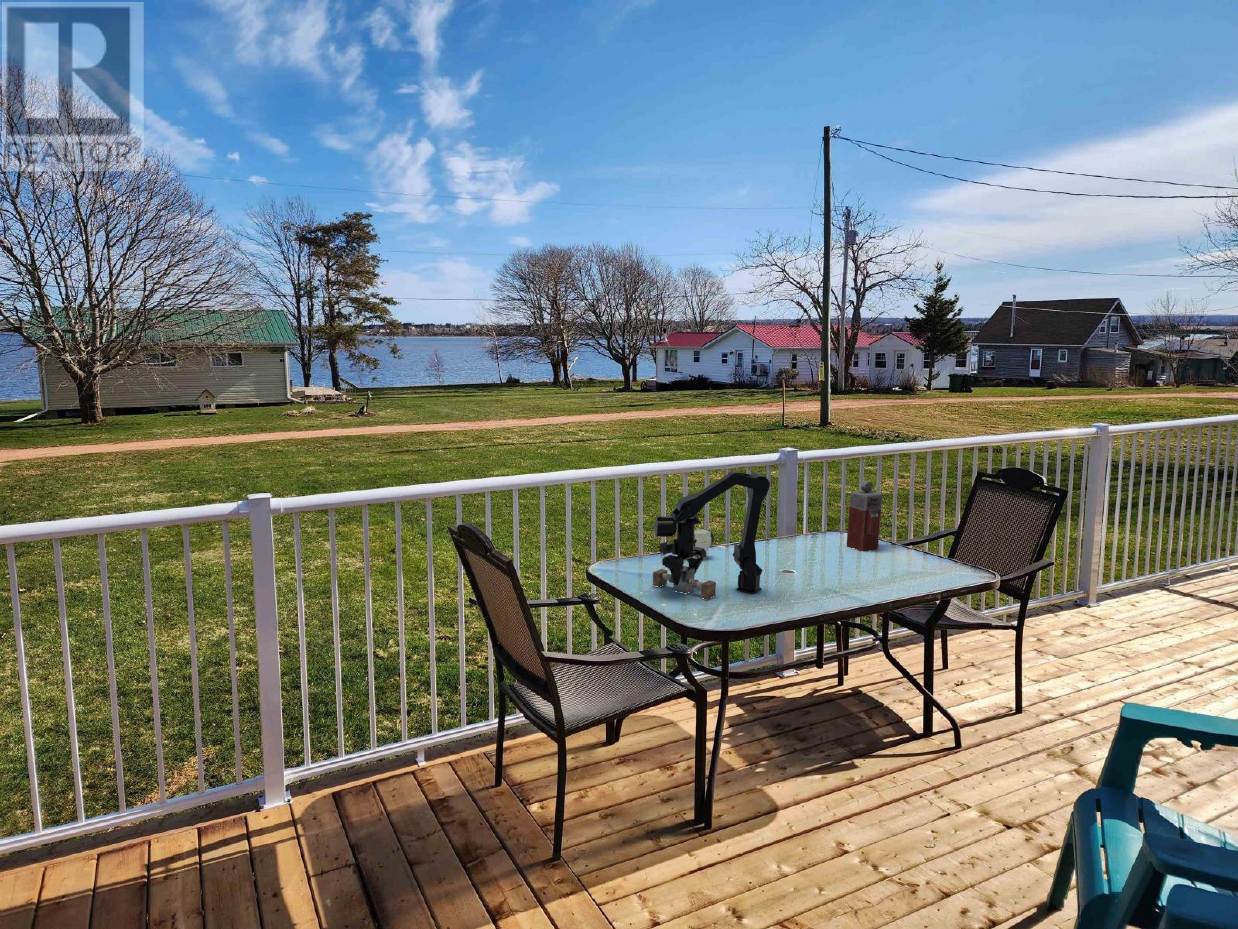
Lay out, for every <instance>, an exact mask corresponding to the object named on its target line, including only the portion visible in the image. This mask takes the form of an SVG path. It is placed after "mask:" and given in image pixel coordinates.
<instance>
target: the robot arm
mask: <svg viewBox="0 0 1238 929" xmlns="http://www.w3.org/2000/svg"><path fill="white" fill-rule="evenodd" d="M736 485H737V486H742V487H745V488H746V491H747V498H748V502H747V507H746V511H745V512H746V513H745V519H744V524H743V529H742V535H741V539H740V542H739V544H736V543H735V544H734V548H733V553H732V556H733V560H734V562H735V563H736V565H738V568H739V569H740V571H739V574H738V576H737V587H736V589H735V590H736V591H740V592H743V593H748V594H752V595H754V594H755V593H758V592H759V591H762V587H760V585H761V576H762V573H763V569H762V568H761V566H759V564H757V550H756V545H755V544H756V540H757V539H756V538H757V534H758V528H759V527H758V526H759V522H760V516H761V510H762V505H763V502H764V500H765V499H766V498H767V495H768V492H769V490H770V487H771V482H770V480H769V479H768V477H766V476H765V475H762V474H761V473H759V472H754V473H752V474H750V473H745V472H738V471H736V470H731V471H729V472H728V473H727V474H726V475H723V476H722V477H721V478H719V479H718V480H716V481H714V482H713V483H711V484H710V485H708V486H707V487H705V488H703V489H702V490H700V491H698V492H695V493H692V494H689V495H686V496H683V497H681V498H680V499H679V500H678V501H677V503H676V507H675V508H674V510H673V511H672V512H671V513H670V514H669V515H670V516H662V515H656V517H655V520H654V524H653V533H654V537H656V538H668V537H669V538H671V537H672V538H673V537H674V536H675V535H676V538H674V539H673V542H668V543H667V541H665V542H661V543H659V547H658V548H659V549H658V551H659V552H660V553H662V555H663V556H664V557H663V558H662V560H661V561H662V562H661V565H662V566H664V568H667V569H668V571H670V575H672V578H673V581H674V584H675V585H678V584H679V581H680V578H681V575H682V572H683V569H684V567H682V566H684V564H685V561H687V563H688V567H692V568H695V574H694V576H695V575H696V573H697V572H698V569H699V567H700V566H701V564H702V563H703V561H704V560H705V558H707V550H706V548H699V547H695V546H694V543H696V542H697V539H694V532H695V530H696V525H700V524H701V525H702V521H701V520H700V519H699V518H698V516H697V515H698V514H699V513H700V512H701V511H702V509H703V508H704V507H705V506H706V505H707V504H708V503H709V502H711V501H712V500H714V499H715V498H717V497H719V496H720V495H722V494H724V493H725V492H726V491H728V490H730V489H731V488H732V487H734V486H736ZM667 554H669V555H667ZM665 555H666V556H665Z"/></svg>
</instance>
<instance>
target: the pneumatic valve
mask: <svg viewBox="0 0 1238 929" xmlns="http://www.w3.org/2000/svg"><path fill="white" fill-rule="evenodd" d="M694 539H697V542H696V543H694V546H695V547H699V548H704V549H709V548H712V546H713V543H714V541H715V536H714V534H713V531H711V530H708V529H705V528H702V529H701V528H697V529H695V532H694Z"/></svg>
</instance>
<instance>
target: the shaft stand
mask: <svg viewBox="0 0 1238 929" xmlns="http://www.w3.org/2000/svg"><path fill="white" fill-rule="evenodd" d="M668 582H669V583H671V584H673V578H672V575H671V573H670V574H669V573H668V570H667V569H663V568H660V569H657V570H655V571H653V572H652V586H653V585H654V586H658V587H660V586H662V585H664V586H667V585H666V584H668ZM716 586H717V582H716V581H715V580H707V581H704V582H701V581H700V580H699V579H695V578H694V581H693V583H692V587H693V588H694V590H697V589H699V590H700V589H701V590H700V599H701V598H704V599H709V600H711V599H712V598H711V597H713V596H715V597H716V591H717V589H716V588H717V587H716ZM662 587H663V586H662ZM660 588H661V587H660ZM710 598H711V599H710ZM713 598H714V597H713ZM704 599H703V600H704Z"/></svg>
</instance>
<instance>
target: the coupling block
mask: <svg viewBox="0 0 1238 929" xmlns="http://www.w3.org/2000/svg"><path fill="white" fill-rule="evenodd" d="M682 567H684V569H683V572H682V575H681V578H680V581H679V584H678V585H675V584H674V581H673V583H672V586H673V588H672V591H673V590H674V591H677V592H683V593H688V592H691V591H693V590H694V591H695V589H694V588H693V587H692V583H693V581H694V580H695V575H696V573H695V568H692V567H689V565H688V566H687V565H683V566H682ZM694 574H695V575H694ZM694 591H693V592H694ZM691 593H692V592H691Z"/></svg>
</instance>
